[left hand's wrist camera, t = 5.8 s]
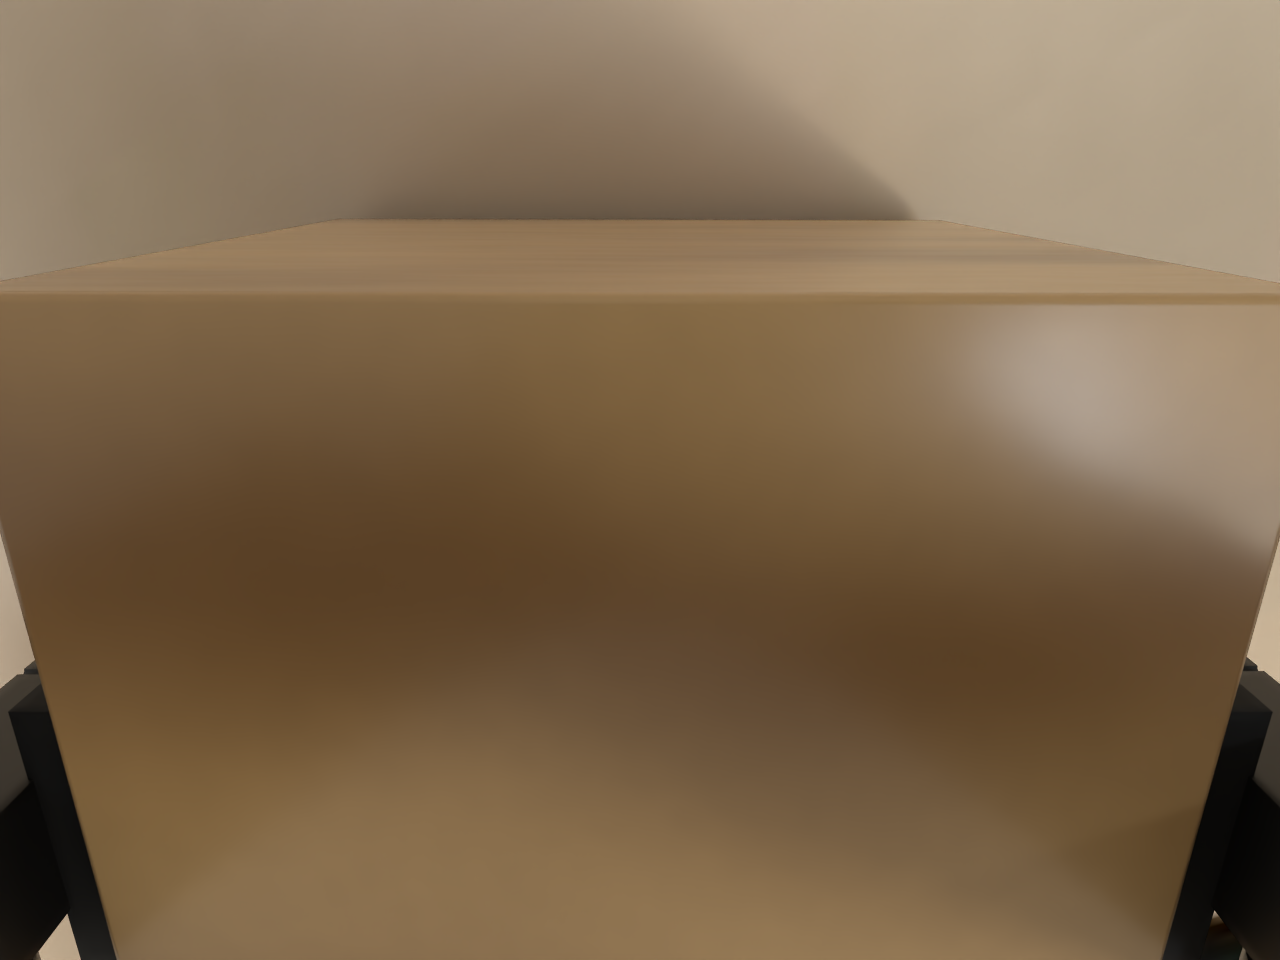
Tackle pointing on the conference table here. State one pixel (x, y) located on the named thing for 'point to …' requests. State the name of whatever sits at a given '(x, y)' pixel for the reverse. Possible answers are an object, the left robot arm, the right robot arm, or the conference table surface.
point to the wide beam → (639, 585)
